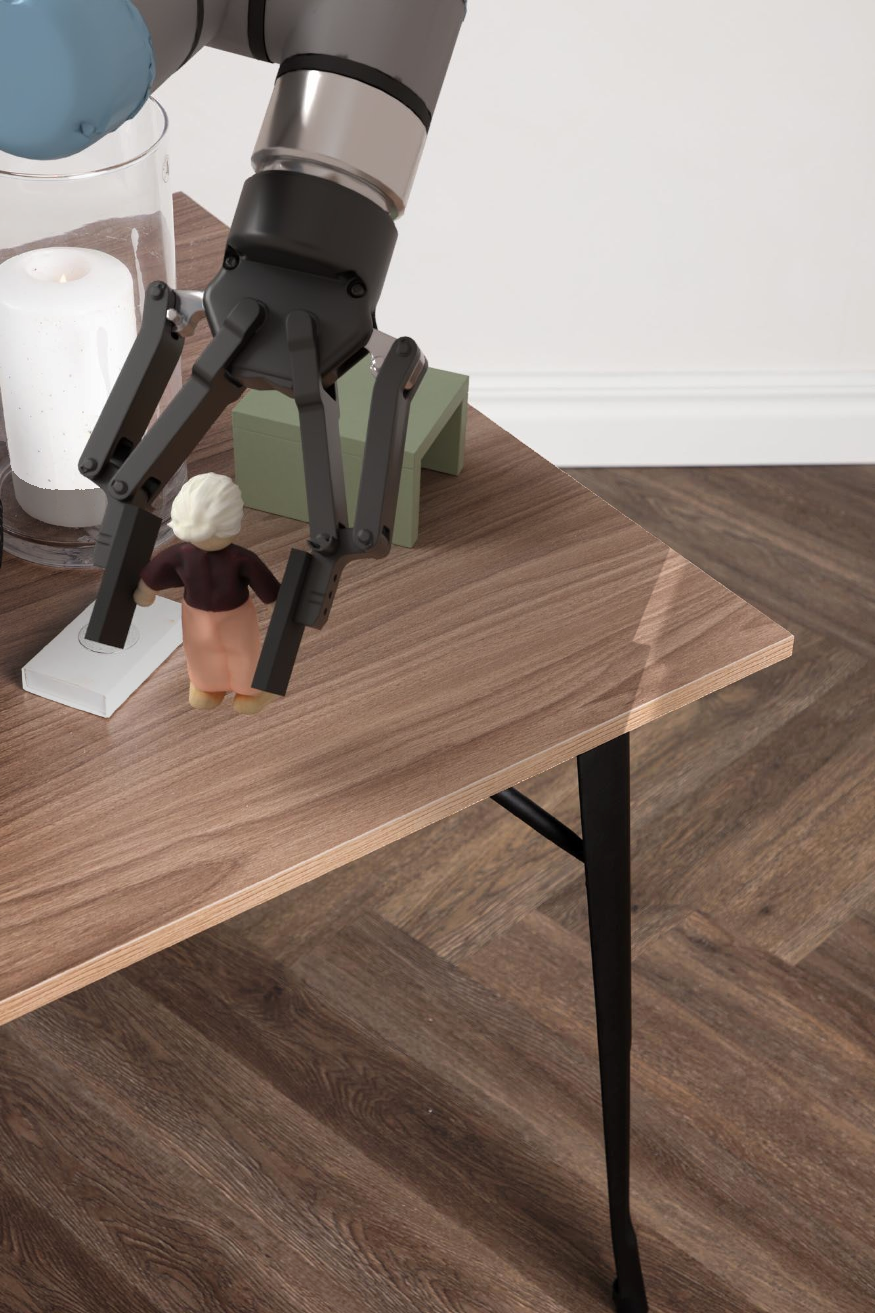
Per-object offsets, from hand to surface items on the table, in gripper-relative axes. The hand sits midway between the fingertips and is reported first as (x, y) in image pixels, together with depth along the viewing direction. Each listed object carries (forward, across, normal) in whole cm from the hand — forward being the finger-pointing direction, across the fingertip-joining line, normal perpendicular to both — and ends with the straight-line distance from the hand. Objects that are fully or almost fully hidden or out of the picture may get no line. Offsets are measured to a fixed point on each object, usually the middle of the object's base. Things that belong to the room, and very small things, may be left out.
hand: (185, 667), depth 65 cm
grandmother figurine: (+1, 0, -6) cm, 6 cm away
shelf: (-14, +4, -27) cm, 31 cm away
